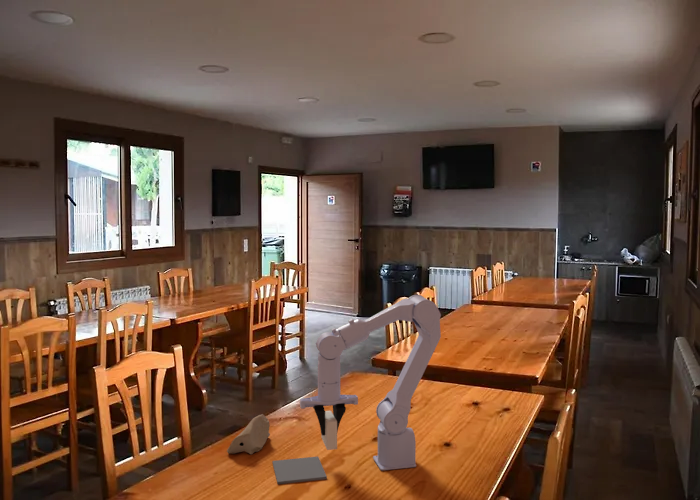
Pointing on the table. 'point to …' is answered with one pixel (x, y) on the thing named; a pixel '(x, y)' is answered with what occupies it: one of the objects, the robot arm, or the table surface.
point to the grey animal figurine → (251, 436)
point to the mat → (298, 470)
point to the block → (330, 431)
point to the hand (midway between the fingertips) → (329, 433)
